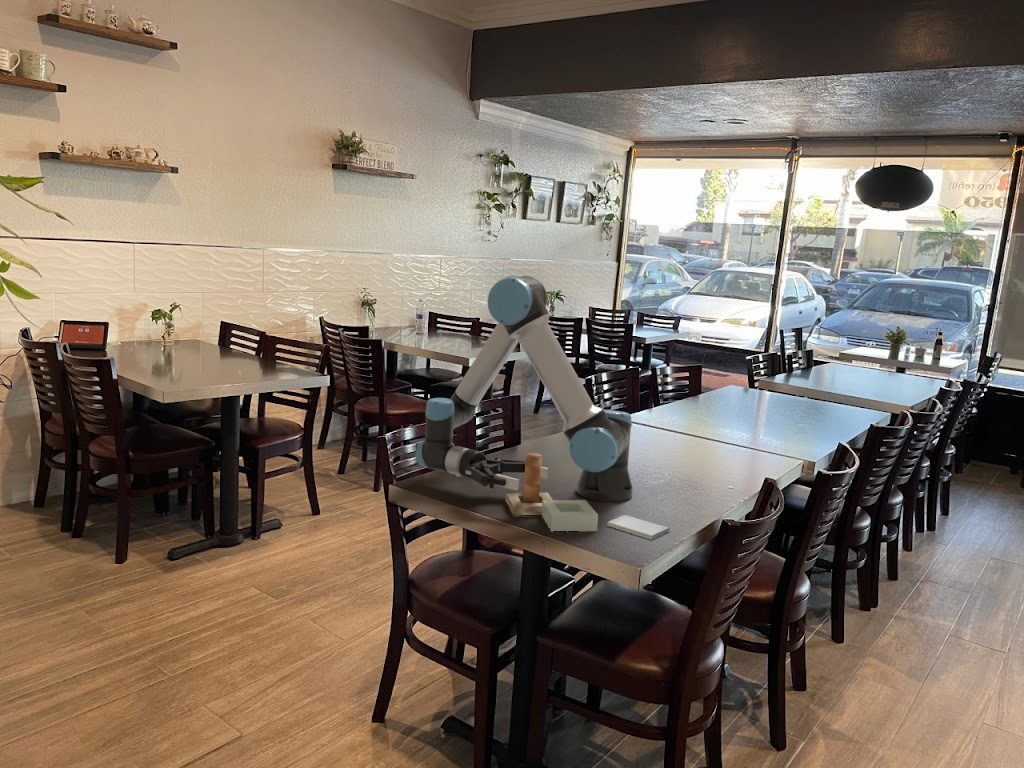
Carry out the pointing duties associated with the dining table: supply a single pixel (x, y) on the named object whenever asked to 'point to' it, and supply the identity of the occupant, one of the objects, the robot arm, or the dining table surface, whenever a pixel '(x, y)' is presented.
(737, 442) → the dining table surface
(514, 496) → the holder
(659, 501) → the dining table surface
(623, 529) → the hard drive
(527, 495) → the peg
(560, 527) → the socket block
